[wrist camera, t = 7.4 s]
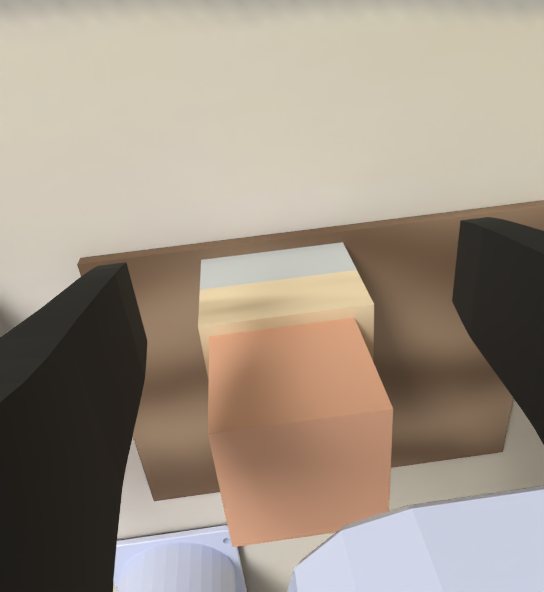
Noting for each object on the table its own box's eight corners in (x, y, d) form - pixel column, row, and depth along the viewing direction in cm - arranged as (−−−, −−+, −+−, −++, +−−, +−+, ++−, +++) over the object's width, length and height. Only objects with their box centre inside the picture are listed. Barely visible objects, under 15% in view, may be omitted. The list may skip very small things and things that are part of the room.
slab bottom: (345, 354, 25) (357, 389, 23) (221, 371, 25) (222, 407, 23) (342, 242, 22) (356, 270, 20) (201, 259, 22) (199, 289, 19)
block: (355, 423, 20) (388, 524, 16) (228, 440, 20) (232, 547, 16) (354, 317, 18) (393, 408, 14) (209, 336, 18) (207, 433, 14)
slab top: (357, 389, 23) (372, 431, 21) (222, 407, 23) (222, 451, 20) (356, 270, 20) (374, 304, 18) (199, 289, 19) (197, 326, 17)
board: (497, 444, 30) (502, 451, 30) (154, 492, 29) (154, 501, 29) (544, 200, 22) (552, 205, 22) (80, 258, 22) (77, 264, 21)
